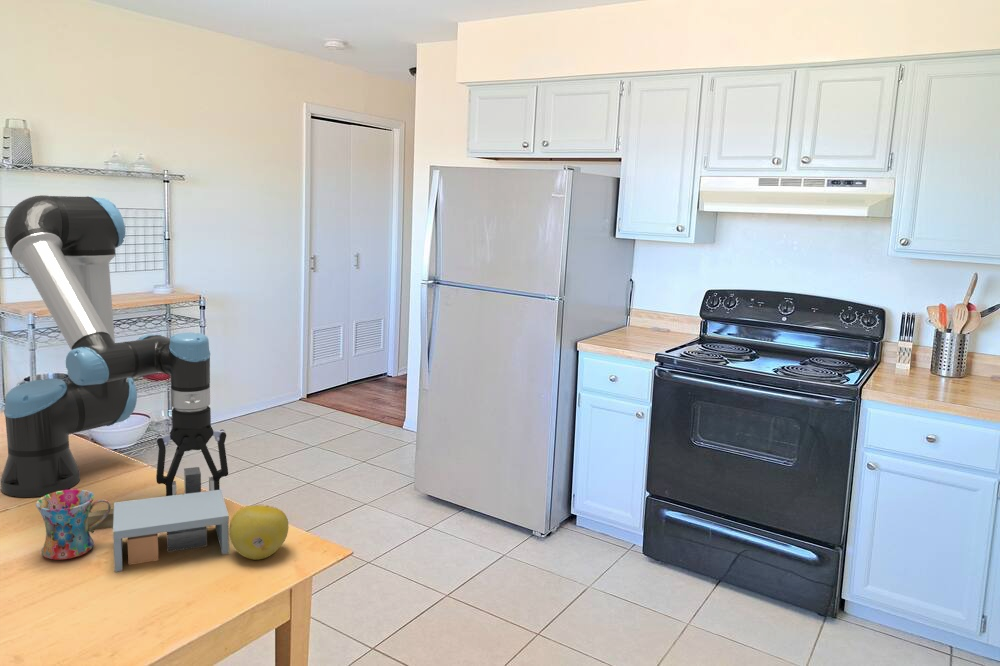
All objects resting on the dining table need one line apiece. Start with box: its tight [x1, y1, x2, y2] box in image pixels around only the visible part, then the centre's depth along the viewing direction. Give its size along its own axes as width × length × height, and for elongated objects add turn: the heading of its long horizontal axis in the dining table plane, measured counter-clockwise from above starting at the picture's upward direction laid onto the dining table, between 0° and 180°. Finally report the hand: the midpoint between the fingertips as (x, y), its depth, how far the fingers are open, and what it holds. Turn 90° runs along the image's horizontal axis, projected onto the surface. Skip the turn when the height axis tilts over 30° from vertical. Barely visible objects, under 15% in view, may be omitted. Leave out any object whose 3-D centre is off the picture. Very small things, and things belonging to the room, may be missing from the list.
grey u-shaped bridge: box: [112, 489, 230, 573], centre depth 139 cm, size 13×19×8 cm
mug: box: [35, 488, 112, 561], centre depth 136 cm, size 12×9×11 cm
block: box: [127, 533, 159, 565], centre depth 136 cm, size 5×5×5 cm
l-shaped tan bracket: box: [88, 508, 114, 531], centre depth 145 cm, size 10×3×7 cm, turn 117°
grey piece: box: [166, 466, 208, 553], centre depth 148 cm, size 19×7×9 cm, turn 27°
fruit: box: [229, 503, 289, 561], centre depth 139 cm, size 10×11×10 cm
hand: (193, 509), depth 156 cm, fingers open, 7 cm apart
